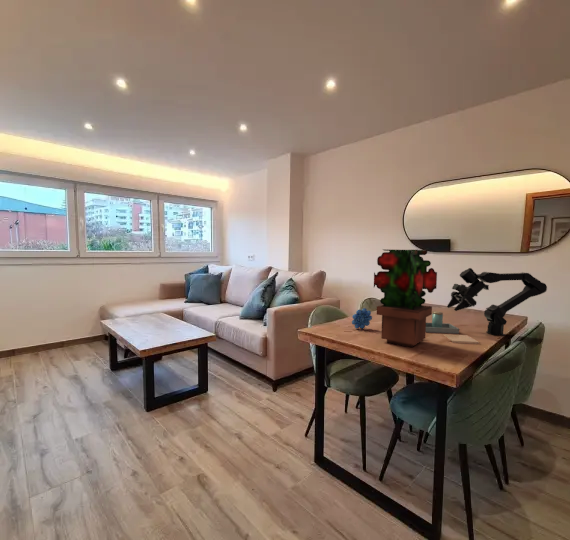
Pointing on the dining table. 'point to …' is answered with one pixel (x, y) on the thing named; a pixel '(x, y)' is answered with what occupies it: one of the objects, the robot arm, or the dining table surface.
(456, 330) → the grey tray
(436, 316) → the jar
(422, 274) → the potted plant
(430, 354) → the dining table surface
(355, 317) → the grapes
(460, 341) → the tile
